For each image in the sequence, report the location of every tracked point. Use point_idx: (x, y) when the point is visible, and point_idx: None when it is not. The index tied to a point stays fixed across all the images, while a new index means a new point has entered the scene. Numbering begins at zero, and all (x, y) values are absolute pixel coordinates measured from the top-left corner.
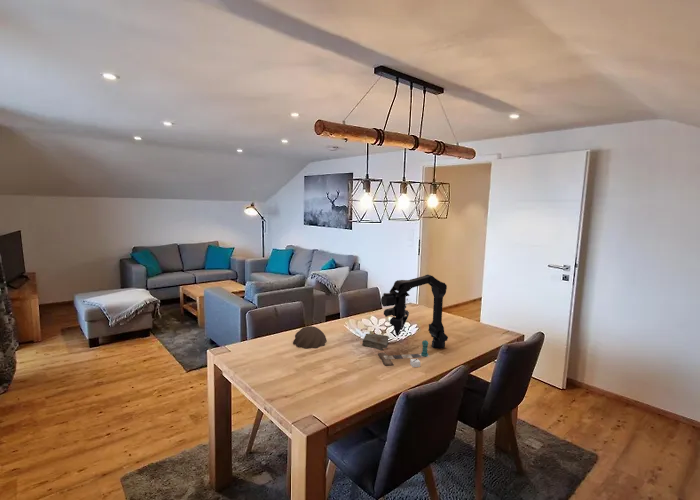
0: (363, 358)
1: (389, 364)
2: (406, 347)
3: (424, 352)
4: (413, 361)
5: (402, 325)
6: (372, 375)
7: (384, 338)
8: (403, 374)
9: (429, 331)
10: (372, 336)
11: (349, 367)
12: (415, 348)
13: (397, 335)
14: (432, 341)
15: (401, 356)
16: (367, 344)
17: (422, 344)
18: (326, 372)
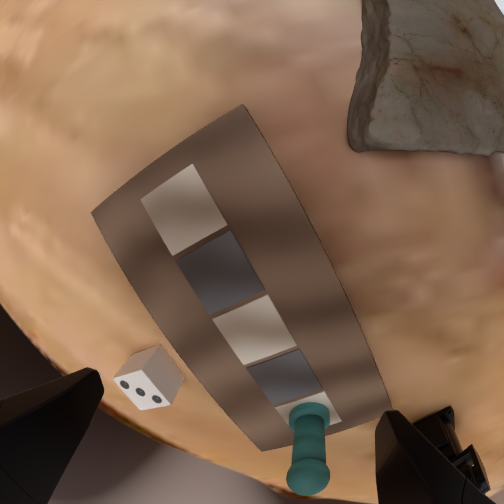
0: (151, 46)
1: (107, 235)
2: (449, 292)
3: (294, 432)
4: (122, 382)
5: (388, 498)
6: (17, 183)
7: (499, 119)
8: (74, 315)
9: (467, 475)
10: (480, 27)
11: (46, 55)
12: (438, 345)
13: (94, 383)
14: (440, 444)
15: (236, 298)
16: (370, 2)
17: (302, 461)
18: (15, 25)
